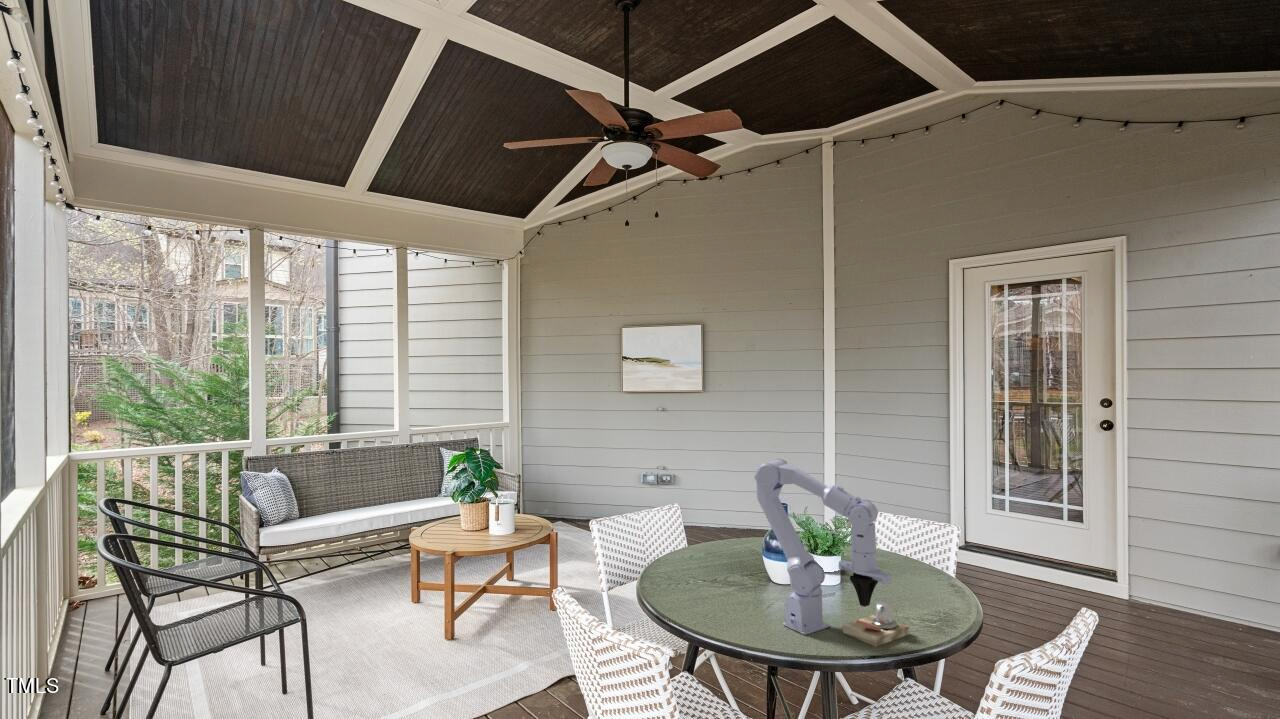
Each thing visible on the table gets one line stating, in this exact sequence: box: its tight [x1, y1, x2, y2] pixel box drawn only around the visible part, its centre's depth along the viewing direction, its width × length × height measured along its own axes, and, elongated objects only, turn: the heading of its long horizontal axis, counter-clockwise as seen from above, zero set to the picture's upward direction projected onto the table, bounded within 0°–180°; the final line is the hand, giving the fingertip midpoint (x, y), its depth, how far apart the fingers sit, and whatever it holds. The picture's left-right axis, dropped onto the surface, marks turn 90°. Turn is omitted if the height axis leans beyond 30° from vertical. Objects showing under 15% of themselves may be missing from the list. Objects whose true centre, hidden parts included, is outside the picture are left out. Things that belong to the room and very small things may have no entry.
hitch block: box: [842, 613, 910, 648], centre depth 161 cm, size 13×10×2 cm
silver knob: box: [873, 601, 898, 631], centre depth 161 cm, size 6×6×7 cm
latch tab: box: [855, 619, 881, 631], centre depth 158 cm, size 4×4×1 cm
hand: (864, 605), depth 158 cm, fingers closed
